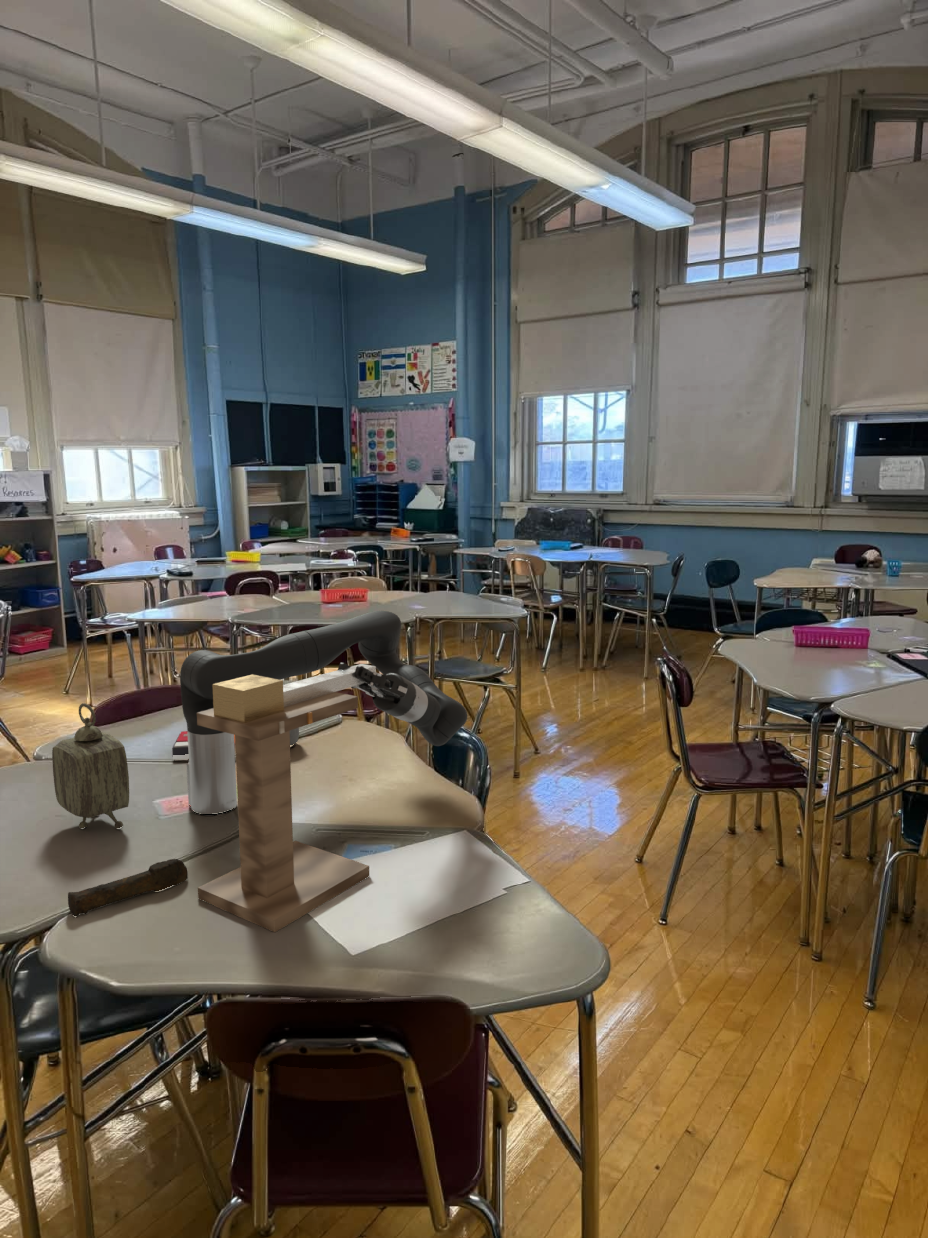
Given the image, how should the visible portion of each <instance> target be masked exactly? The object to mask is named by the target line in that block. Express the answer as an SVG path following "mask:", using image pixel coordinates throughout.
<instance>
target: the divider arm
mask: <svg viewBox="0 0 928 1238" xmlns="http://www.w3.org/2000/svg"><path fill="white" fill-rule="evenodd" d="M357 666H362V667H364V668H366V669H368V670H369V671H371V672H377V668H376V666H373V665H372V664H371V665H370V664H365V663H360V664H356V665H351V667H348V668H345V669H341V670H338V669H337V670H333V671H329V672H326V673H323V674H319V675H315V676H310V677H308V678H304V679H300V680H297V681H293V682H289V683H286V684H284V679H281V680H278V679H273V678H268V677H263V676H258V675H253V674H252V675H248V676H244V677H240V678H236V679H232V680H228V681H224V682H220V683H216V684H212V685H213V706H214V716H217V717H221V718H226V719H230V720H234V721H238V722H242V723H247V722H250V721H253V720H257V719H260V718H263V717H267V716H270V715H273V714H276V713H280V712H283V711H284V707H286V706H289V705H293V704H296V703H300V702H303V701H306V700H310V699H313V698H316V697H320V696H323V695H326V694H330V693H333V692H339V691H342V690H346V689H348V688H349V689H350V688H351V687H353V686H356V685H360V684H363V683H365V682H363V681H361V680H359V679H357V678H356V677H355V676H354V674H355V670H356V667H357Z"/></svg>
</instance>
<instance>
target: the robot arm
mask: <svg viewBox="0 0 928 1238" xmlns="http://www.w3.org/2000/svg"><path fill="white" fill-rule="evenodd" d="M401 631H402V622H401V619H400V617H399V616H398V615H397V614H396V613H394V612H392V611H386V610H375V611H370V612H366V613H363V614H360V615H357V616H355V617H352V618H349V619H346V620H343V621H340V622H337V623H333V624H329V625H325V626H322V627H317V628H313V629H309V630H302V631H299V632H294V633H289V634H285V635H282V636H280V637H278V638H276V639H274V640H272V641H271V642H269V643H268V644H266V645H264V646H262V647H260V648H257V649H255V650H252V651H247V652H241V653H236V654H228V655H225V654H219V653H217V652H213V651H212V650H208V649H207V650H205V649H201V650H200V649H199V650H196V651H193V652H192V653H190V654H188V655H187V656H186V658H185V659H184V660H183V662H182V665H181V667H180V673H179V680H180V681H179V685H180V696H181V707H182V713H183V716H184V719H185V722H186V731H187V733H188V751H189V760H188V763H186V780H187V796H188V797H187V798H188V799H187V801H188V805H189V804H190V805H191V807H190V809H191V811H192V810H194V811H195V812H198V813H201V814H212V813H219V812H224V811H227V810H230V809H232V808H234V809H236V807H238V794H237V771H236V748H235V735H234V734H230V733H226V732H222V731H218V730H214V729H210V728H207V727H203V726H199V725H197V713H198V712H201V711H205V710H209V709H212V708H214V706H213V685H212V684H216V683H220V682H224V681H228V680H232V679H236V678H240V677H244V676H248V675H252V674H253V675H258V676H263V677H268V678H273V679H278V680H285V679H288V678H289V679H290V678H293V677H298V676H302V675H305V674H309V673H312V672H313V673H314V672H317V671H319V670H321V669H323V668H325V667H326V666H328V665H329V664H330V663H332V662H333V661H334V660H335V659H336V658H338V657H339V656H340V655H341V654H342V653H344V652H345V651H346V650H348V649H349V648H351V646H354V645H355V644H358V650H359V652H360V653H361V655H362V656H363V657H364V658H365V659H366V661H368V662H369V663H370V664H371V666H376V670H378V671H379V672H380V673H379V672H377V671H376V672H371V671H369V670H368V669H366V668H364V667H362V666H357V667H356V670H355V674H354V676H355V677H356V678H357V679H359V680H361V681H363V682H365V683H363V684H360V685H356V686H353V687H350V688H351V689H358V690H360V691H361V692H365V694H366V695H368V696H370V697H372V702H373V704H374V705H375V707H376V708H377V709H378V710H380V711H382V712H384V713H386V714H388V715H390V716H392V717H394V718H395V719H398V720H400V721H404V722H407V723H408V724H410V725H412V726H414V727H415V728H417V730H418V731H419V732H420V734H421V736H423V738H424V740H426V742H428V743H429V744H430V745H432V746H435V747H441V746H444V745H446V744H447V743H448V742H449V741H450V740H451V739H452V737H453V736H454V735H456V734H457V733H458V731H460V729H461V728H462V727H463V726H464V725H465V724H466V722H467V720H468V713H467V712H468V711H467V709H466V708H465V706H464V705H463V704H462V703H460V702H459V701H457V700H456V699H454V698H452V697H451V696H449V695H448V694H446V693H444V692H443V691H442V690H441V689H440V688H439V687H438V686H437V685H436V683H434V682H433V681H434V680H432V679H431V677H430V676H429V675H428V674H427V673H426V671H424V670H423V669H422V668H420V667H418V666H416V665H413V664H412V665H411V664H407V663H406V664H405V663H403V662H402V661H401V660H400V658H399V656H398V654H397V649H398V645H399V640H400V637H401ZM348 667H352V665H348V664H347V663H346V662H340V663H339V665H338V667H337V670H341V669H345V668H348Z"/></svg>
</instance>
